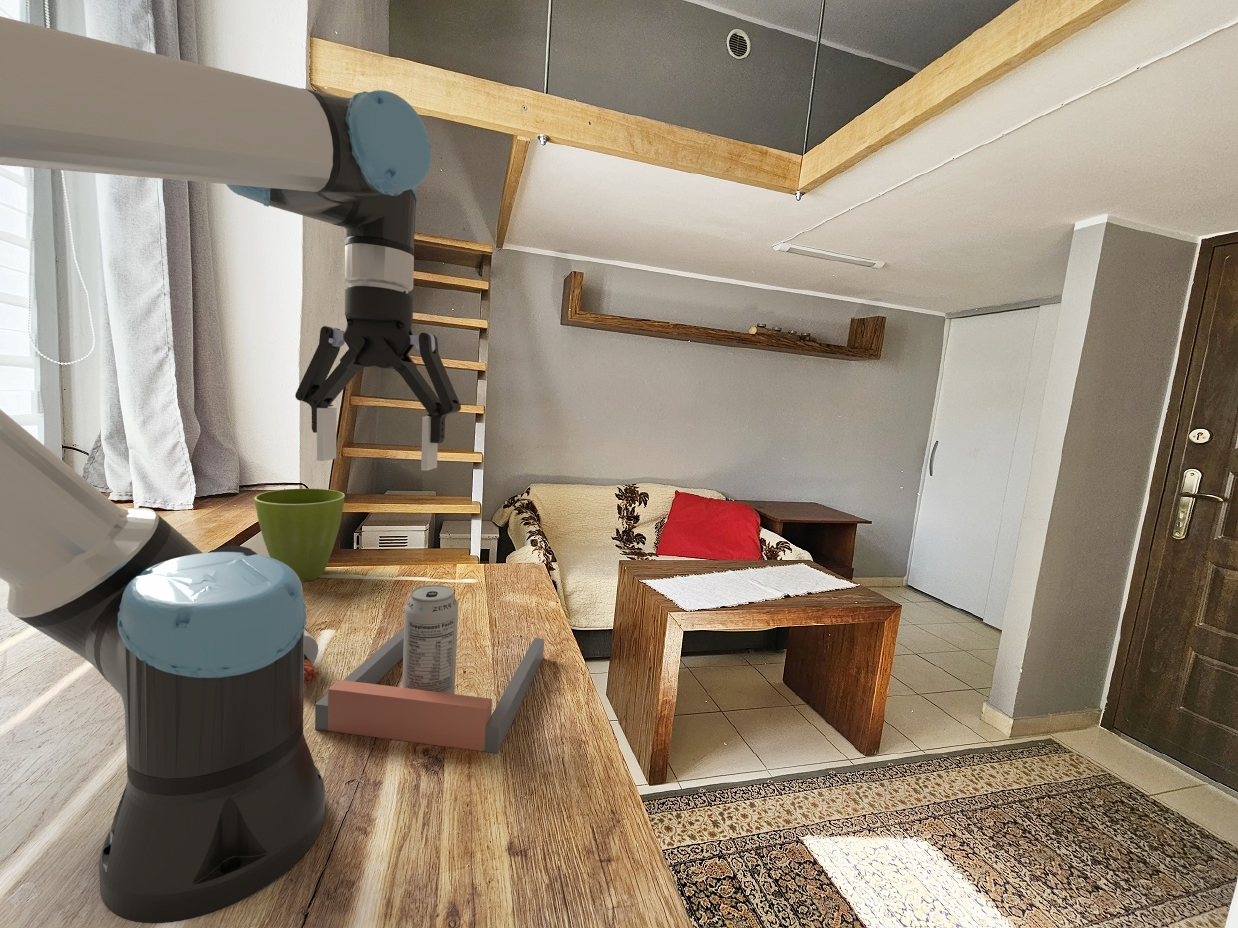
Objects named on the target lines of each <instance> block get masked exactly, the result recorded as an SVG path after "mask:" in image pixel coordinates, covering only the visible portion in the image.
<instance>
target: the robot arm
mask: <svg viewBox="0 0 1238 928" xmlns="http://www.w3.org/2000/svg"><path fill="white" fill-rule="evenodd" d="M432 155H433V153H432V146H431V141H430V136H429V133H428V129H426V125H425V124H424V122H423V120H422V118H421V117H420V115H419V114H418V112H417V111H416V110H415V109H414V108H413V106H412V105H411V104H410V103H409V102H407V101H406V100H405V99H404V98H402V97H401V96H400V95H398V94H396V93H394V92H391V91H388V90H383V89H378V90H377V89H376V90H373V91H370V92H369V91H362V92H357V93H356V94H353V96H352V97H342V96H339V95H334V94H330V93H325V92H322V91H316V90H312V89H307V88H303V87H302V88H300V87H295V86H293V85H288V84H283V83H281V82H275V81H271V80H267V79H264V78H258V77H255V76H250V75H245V74H242V73H238V72H234V71H229V70H225V69H221V68H216V67H212V66H209V65H205V64H200V63H196V62H192V61H189V60H184V59H180V58H179V59H178V58H174V57H171V56H167V55H162V54H159V53H154V52H152V51H151V52H150V51H147V50H142V49H138V48H134V47H129V46H125V45H121V44H118V43H117V44H116V43H113V42H109V41H108V42H107V41H104V40H100V39H97V38H96V39H95V38H93V37H87V36H83V35H79V34H75V33H71V32H67V31H64V30H59V29H54V28H50V27H45V26H43V25H42V26H41V25H38V24H34V23H33V24H32V23H30V22H25V21H20V20H17V19H14V18H9V17H5V16H1V15H0V166H9V167H21V168H32V169H44V170H57V171H65V172H66V171H68V172H79V173H80V172H81V173H92V174H102V175H114V176H128V177H138V178H139V177H140V178H150V179H161V180H171V181H172V180H175V181H183V182H184V181H187V182H196V183H206V184H207V183H210V184H221V185H226V187H228V189H229V190H231V191H232V192H233V193H234V194H236V195H238V196H239V197H243V198H245V199H248V200H251V201H255V202H257V203H259V204H262V205H263V206H264V207H268V208H269V207H272V208H275V209H279V210H282V211H286V212H288V213H293V214H297V215H300V216H303V217H307V218H310V219H314V220H317V221H321V222H324V223H328V224H331V225H335V226H338V227H341V228H344V245H345V248H344V280H345V281H346V282H347V283H348V284H350V286H347V287H346V288H345V289H344V317H345V319H346V328H345V329H344V330H341V329H340V328H337V327H331V326H328V325H327V326H326V325H323V326H321V327H320V331H319V341H318V345H317V347H316V349H315V352H314V354H313V355H312V358H311V360H310V362H309V365H308V366H307V368H306V371H305V373H304V376H303V377H302V379H301V382H300V383H299V385H298V388H297V390H296V392H295V398H296V400H297V401H300V402H301V401H302V402H304V403H306V404H308V405H309V406H310V409H311V430H312V433H316V461H318V462H325V461H329V460H335V459H337V408H336V407H334V405H333V402H334V400H336V398H337V397H338V396H339V395H340V394H341V392H342V391H343V390H344V389H345V388H346V386H347V385H348V384H349V383H350V382H351V380H352V379H353V378H354V377H355V376H356V375H357V373H359V371H361V370H362V369H364V368H365V367H366V368H375V369H379V368H380V369H390V370H394V371H396V372H397V373H398V374H399V375H400V376H401V377H402V379H403V380H404V382H405V383H406V385H407V386H408V387H409V388H410V390H411V391H412V392H413V394H414V395H415V397H416V398H417V400H418V401H419V403H421V405H422V406H423V408H424V409H425V411H427V413H428V414H427V415H426V416H422V417H421V419H422V420H421V422H422V424H421V461H420V464H421V465H420V470H421V471H430V470H431V471H432V470H433V469H437V468H438V450H439V449H438V444H441V443H444V441H445V438H446V437H445V434H446V433H445V431H446V418H447V416H448V415H450V414H454V413H459V412H460V411H461V409H462V406H461V403H460V400H459V399H458V396H457V393H456V392H455V389H454V386H453V385H452V381H451V380H450V377H449V375H448V372H447V371H446V368H445V365H444V363H443V361H442V359H441V356H440V353H439V344H438V338H437V337H438V336H436V335H435V334H432V333H427V332H420V333H419V334H414V333H413V332H412V325H413V323H414V321H413V319H414V298H413V297H412V295H411V294H409V292H411V291H412V290H413V289H414V276H415V275H414V274H415V273H414V269H415V268H414V263H415V262H414V261H415V234H416V233H415V231H416V230H415V229H416V210H417V209H416V205H417V201H418V200H417V199H418V198H417V189H416V188H418V186H420V185H421V184H423V182H424V181H425V180H426V178H427V177H428V175H429V173H430V170H431V167H432V160H433V156H432ZM344 345H347V347H348V349H347V350H346V352H344V354H343V355H342V356H341V357H340V359H339V363H338V364H337V366H336V367H335V368H334V369H333V370H332V368H333V366H334V363H335V361H336V360H337V357H338V355H339V352H340V350H341V347H343V346H344ZM414 346H415V349H416V351H417V352H418V353H420V357H421V360H422V362H423V364H424V367H425V369H426V372H427V374H428V376H429V379H430V381H431V383H432V385H433V388H434V390H435V391H434V390H433V388H431V386H430V384H429V383H428V382H427V381H426V379H425V378H424V377H423V375H422V373H421V372H420V371H419V370H418V368H417V364H416V363H415V362H414V360H413V359H412V358H411V356H410V355H409V353H410V352H411V350H412V349H413V347H414ZM331 370H332V372H331ZM330 372H331V373H330ZM181 534H182V533H181V532H179V531H178V530H177V529H176V528H174V527H173V526H172V525H171V524H170V523H169V522H167V521H166V520H165V519H164V518H163V517H162V516H161V515H159V514H158V513H157V512H156V511H155V510H153V509H151V508H147V507H119V506H118V505H116V504H115V503H114V502H113V501H112V500H110V498H108V497H107V496H106V495H105V494H103V492H101V491H100V490H99V489H97V488H96V487H95V486H93V484H91V483H90V482H89V481H87V480H86V479H85V478H84V477H83V476H82V475H80V474H79V473H78V472H77V471H75V469H73V468H72V467H71V466H70V465H68V464H67V463H66V461H64V460H62V459H61V458H60V457H58V456H57V455H56V454H55V452H53V451H51V450H50V449H49V448H48V447H47V446H45V445H44V444H43V443H42V442H41V441H39V440H38V438H36V437H35V436H33V434H31V433H30V432H29V431H28V430H26V429H25V428H24V427H22V426H21V424H19V423H18V422H16V421H15V420H14V419H13V418H12V417H10V416H9V415H8V414H7V413H6V412H4V411H3V410H2V409H1V408H0V579H1V580H2V581H4V582H6V583H7V584H8V587H9V590H8V597H7V605H6V606H7V607H6V608H7V611H8V612H9V613H10V614H11V615H13V616H14V617H16V618H17V619H19V620H21V621H22V622H23V623H26V624H27V625H29V626H31V627H32V628H34V629H36V630H37V631H39V632H41V633H43V634H44V635H46V637H49V638H51V639H52V640H54V641H56V642H57V643H59V644H61V645H63V646H64V647H65V648H67V649H69V650H71V651H73V652H74V653H76V655H78V656H80V657H81V658H82V659H84V660H85V661H87V662H88V663H89V664H91V665H92V666H93V667H94V669H96V670H97V671H98V673H99V674H100V675H101V676H102V677H103V679H104V680H105V681H106V682H108V683H109V685H110V686H111V687H112V688H113V689H114V690H115V691H116V692H117V693H118V694H119V695H120V697H121V700H122V703H123V710H124V724H125V730H124V731H125V750H126V751H125V753H126V772H127V773H126V774H127V777H126V778H127V782H126V783H125V784H126V785H125V787H124V790H123V792H122V795H121V797H120V800H119V802H118V804H117V808H116V811H115V814H114V815H113V816H114V817H113V819H112V824H111V828H110V830H109V832H108V833H107V836H106V838H105V840H104V843H103V845H102V848H101V850H100V851H101V852H100V855H99V862H98V869H99V871H98V875H99V876H98V877H99V892H100V898H101V900H102V902H103V904H104V906H105V907H106V908H107V910H109V911H110V912H111V913H112V914H114V915H115V916H117V917H119V918H121V919H124V920H126V921H130V922H136V923H142V924H166V923H167V924H168V923H170V924H171V923H176V922H182V921H183V922H184V921H187V920H188V921H189V920H191V919H196V918H199V917H202V916H206V915H210V914H212V913H215V912H219V911H221V910H223V909H226V908H228V907H231V906H232V905H235V904H237V903H239V902H241V901H244V900H245V899H247V898H249V897H251V896H252V895H256V893H258V892H260V891H261V890H263V889H264V888H266V887H267V886H269V885H271V884H272V883H274V882H275V881H277V879H279V878H281V876H283V875H284V874H285V873H287V872H288V871H289V870H290V869H291V868H293V866H294V865H295V864H297V863H298V862H299V861H300V860H301V858H303V857H304V855H305V854H306V853H307V852H308V851H309V849H310V848H311V847H312V845H313V844H314V842H315V841H316V840H317V838H318V836H319V834H320V832H321V830H322V827H323V824H324V820H325V815H326V786H325V782H324V779H323V776H322V773H321V772H320V770H319V769H318V767H317V766H316V764H315V762H314V759H313V756H312V754H311V750H310V748H309V745H308V743H307V741H306V738H305V735H304V697H305V695H304V693H305V691H304V690H305V689H304V686H305V685H304V629H305V628H306V624H307V607H306V604H305V602H304V592H303V584H302V582H301V581H300V579H299V577H298V575H297V574H296V573H295V572H294V571H293V570H292V569H291V568H290V567H289V566H288V565H286V564H284V563H282V562H280V561H278V560H276V559H273V558H270V556H266V555H262V554H258V553H257V554H258V555H257V554H256V555H251V556H245V554H244V553H240V552H211V551H210V552H211V553H209V552H202V551H201V550H200V549H199V548H198V547H197V546H196V545H194V544H193V543H192V542H191V541H189V540H188V538H186V537H185V536H184V535H183V534H182V535H181Z"/></svg>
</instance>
